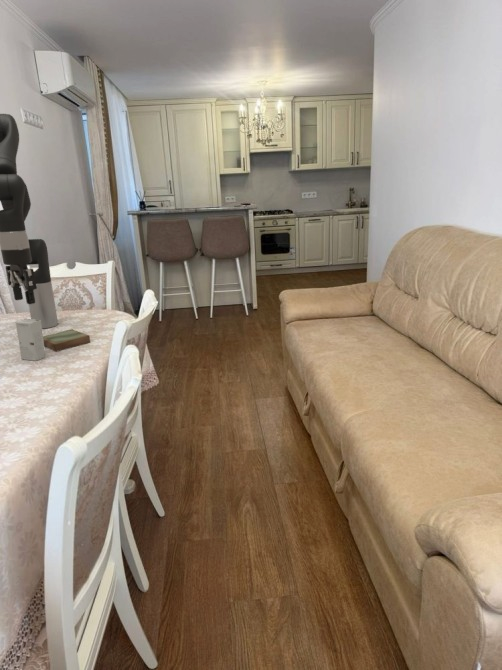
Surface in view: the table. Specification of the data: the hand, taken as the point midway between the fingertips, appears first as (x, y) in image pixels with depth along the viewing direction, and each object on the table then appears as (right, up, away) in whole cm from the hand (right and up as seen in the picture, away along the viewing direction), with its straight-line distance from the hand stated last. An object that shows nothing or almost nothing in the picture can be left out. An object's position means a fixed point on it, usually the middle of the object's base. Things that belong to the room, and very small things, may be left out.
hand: (25, 301), depth 134 cm
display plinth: (+4, -13, +18) cm, 23 cm away
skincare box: (0, -17, +5) cm, 18 cm away
